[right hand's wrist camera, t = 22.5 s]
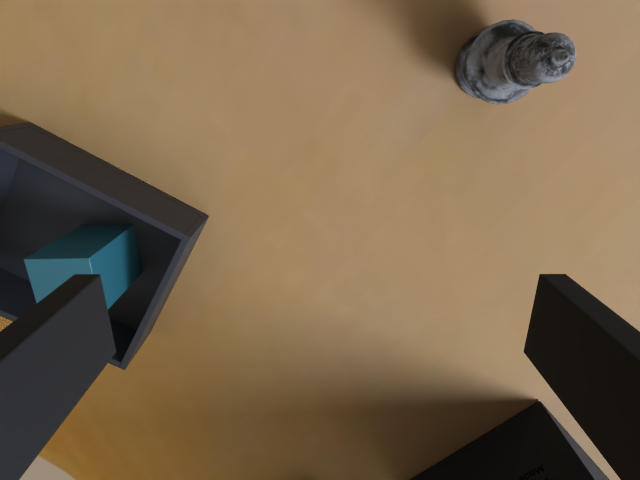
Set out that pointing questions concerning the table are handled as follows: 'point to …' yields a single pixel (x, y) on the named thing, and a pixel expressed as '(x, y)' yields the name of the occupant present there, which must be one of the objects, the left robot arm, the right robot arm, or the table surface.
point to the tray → (87, 209)
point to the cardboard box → (520, 453)
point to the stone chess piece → (512, 61)
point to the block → (87, 260)
